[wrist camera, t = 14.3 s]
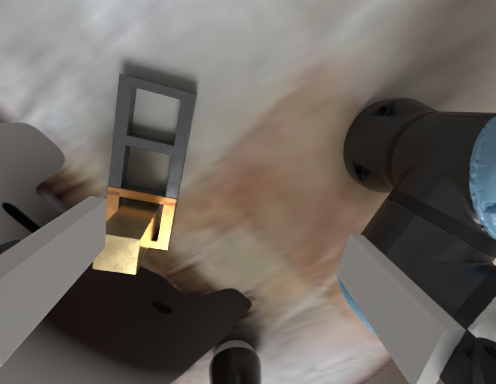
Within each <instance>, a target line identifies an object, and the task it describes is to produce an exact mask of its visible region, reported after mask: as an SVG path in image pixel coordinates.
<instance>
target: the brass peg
mask: <svg viewBox="0 0 496 384" xmlns="http://www.w3.org/2000/svg"><path fill="white" fill-rule="evenodd" d="M160 207H161V204H157V203H152V202H147V201H142V200H136V199H131V198H128V200H127V201H126V202H125V203H124V204H123V205H122V206H121V207H120V208H119V209H118V210H117V211H116V212H115V213H114V214H113V215H112V216H111V218H110V219H109V220H108V221H107V222H106V236H105V248H104V249H103V250H102V251H101V252H100V254H99V255H98V256H97V257H96V258H95V259H94V262H93V269H99V270H106V271H114V272H121V273H128V274H136V272H137V270H138V268H139V266H140V264H141V262H142V260H143V258H144V256H145V254H146V251H147V249H148V247H149V245H150V243H151V241H152V239H153V237H154V235H155V233H156V231H157V225H158V219H159V213H160Z"/></svg>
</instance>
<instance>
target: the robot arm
mask: <svg viewBox="0 0 496 384" xmlns="http://www.w3.org/2000/svg"><path fill="white" fill-rule="evenodd" d="M344 162H345V165H346V168H347V170H348V172H349V174H350V175H351V177H352V178H353V179H354V180H355V181H356V182H358V183H359V184H361V185H363V186H364V187H366V188H368V189H370V190H373V191H377V192H385V193H390V194H389V196H388V197H387V198H386V199H385V201H384V202H383V204H382V205H381V206H380V208H379V209H378V211H377V212H376V213H375V215H374V216H373V218H372V219H371V220H370V222H369V223H368V225H367V226H366V227H365V229H364V230H363V232H362V233H361V234H360V235H359V234H352V233H350V235H349V238H348V241H347V244H346V247H345V250H344V253H343V256H342V259H341V262H340V265H339V268H338V271H337V274H336V275H337V278H338V283H339V285H340V289H341V291H342V293H343V295H344V297H345V299H346V301H347V302H348V304H349V305H350V307H351V308H352V309H353V311H354V312H355V313H356V314H357V316H358V317H359V318H360V319H361V320H362V321H363V323H364V324H365V325H366V326H367V327H368V328H369V329H370V330H371V331H372V332H373V333H374V334H376V335H377V336H378V338H379V339H380V341H381V342H382V344H383V345H384V347H385V348H386V350H387V351H388V353H389V354H390V356H391V357H392V359H393V360H394V362H395V363H396V364H397V366H398V368H399V369H400V371H401V372H402V374H403V375H404V377H405V378H406V380H407V381H408V383H409V384H436V383H437V381H438V380H439V378H441V380H442V381H443V382H444V383H445V384H496V266H495V265H494V264H493V263H492V262H493V261H494V259H495V258H496V113H479V112H438V111H436V110H434V109H432V108H431V107H429V106H427V105H425V104H423V103H421V102H419V101H416V100H413V99H408V98H392V99H386V100H382V101H379V102H377V103H375V104H373V105H371V106H369V107H368V108H367V109H365V110H364V111H363V112H362V113H361V114H360V115H359V116H358V117H357V118H356V119H355V121H354V122H353V124H352V125H351V127H350V129H349V131H348V133H347V136H346V139H345V143H344ZM106 201H107V199H106V198H99V197H92V196H90V197H88V198H87V199H85V200H84V201H82V202H81V203H79V204H78V205H76V206H74V207H73V208H71V209H70V210H68V211H67V212H65V213H64V214H62V215H61V216H59V217H57V218H56V219H54V220H53V221H51V222H50V223H48V224H47V225H45V226H44V227H42V228H40V229H39V230H37V231H36V232H34V233H33V234H31V235H30V236H28V237H27V238H25V239H23V240H22V241H21V240H13V241H11V242H8V243H5V244H2V245H0V367H1V366H2V365H3V364H4V363H5V361H6V360H7V359H8V358H9V357H10V356H11V355H12V353H13V352H14V351H15V350H16V349H17V348H18V347H19V346H20V344H21V343H22V342H23V341H24V340H25V339H26V337H27V336H28V335H29V334H30V333H31V332H32V331H33V329H34V328H35V327H36V326H37V325H38V324H39V322H40V321H41V320H42V319H43V318H44V317H45V316H46V314H47V313H48V312H49V311H50V310H51V309H52V307H53V306H54V305H55V304H56V303H57V302H58V301H59V300H60V298H61V297H62V296H63V295H64V294H65V293H66V291H67V290H68V289H69V288H70V287H71V286H72V285H73V283H74V282H75V281H76V280H77V279H78V278H79V277H80V275H81V274H82V273H83V272H84V271H85V270H86V269H87V267H88V266H89V265H90V264H91V263H92V261H93V260H94V259H95V258H96V257H97V256H98V255H99V254H100V252H101V251H102V250H103V249H104V248H105V236H106ZM396 203H397V204H396ZM398 204H399V205H398ZM405 208H406V209H405ZM407 209H408V210H407ZM414 213H415V214H414ZM416 214H417V215H416ZM423 218H424V219H423ZM425 219H426V220H425ZM430 222H431V223H430ZM432 223H433V224H432ZM439 227H440V228H439ZM441 228H442V229H441ZM448 232H449V233H448ZM482 251H483V252H482ZM493 257H494V258H493Z"/></svg>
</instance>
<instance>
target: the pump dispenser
mask: <svg viewBox="0 0 496 384" xmlns="http://www.w3.org/2000/svg"><path fill="white" fill-rule="evenodd" d="M209 380H210V384H261V363H260V359H259V357H258V355H257V354H256V352H255V351H254V349H253V348H252V347H251V346H250V345H249V344H248V343H246V342H244V341H241V340H230V341H227V342H225V343H223V344H222V345H221V346H220V347H219V348H218V349H217V350H216V352H215V353H214V355H213V358H212V360H211V362H210V365H209Z"/></svg>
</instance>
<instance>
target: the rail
mask: <svg viewBox="0 0 496 384" xmlns="http://www.w3.org/2000/svg"><path fill="white" fill-rule="evenodd" d="M136 88H139V89H143V90H147V91H150V92H154V93H158V94H162V95H165V96H169V97H173V98H177V99H181V100H182V102H181V107H180V113H179V119H178V125H177V131H176V137H175V143H174V144H173V143H169V142H164V141H160V140H156V139H151V138H147V137H143V136H138V135H134V134H131V131H132V122H133V114H134V105H135V97H136ZM196 96H197V95H196V94H193V93H189V92H186V91H182V90H178V89H175V88H171V87H167V86H164V85H160V84H156V83H153V82H149V81H145V80H141V79H138V78H134V77H130V76H127V75H123V74H120V75H119V86H118V96H117V106H116V116H115V126H114V137H113V147H112V157H111V167H110V177H109V186H108V193H107V203H106V222H107V221H108V220H109V219H110V218H111V216H112V215H113V214H114V213H115V212H116V211H117V210H118V209H119V208H120V207H121V206H122V205H123V198H124V197H126V198H131V199H136V200H142V201H147V202H152V203H157V204H163V205H164V207H163V213H162V219H161V225H160V231H159V235H154V237H153V239H152V241H151V243H150V245H149V247H152V248H158V249H165V250H167V249H168V246H169V243H170V237H171V232H172V226H173V221H174V216H175V210H176V205H177V199H178V194H179V188H180V183H181V178H182V172H183V167H184V161H185V156H186V150H187V145H188V140H189V134H190V129H191V123H192V118H193V112H194V107H195V102H196ZM130 146H132V147H137V148H141V149H146V150H150V151H155V152H159V153H164V154H168V155H172V161H171V167H170V173H169V179H168V184H167V190H166V192H163V191H158V190H153V189H148V188H143V187H138V186H133V185H128V184H125V181H126V173H127V165H128V156H129V148H130Z"/></svg>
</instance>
